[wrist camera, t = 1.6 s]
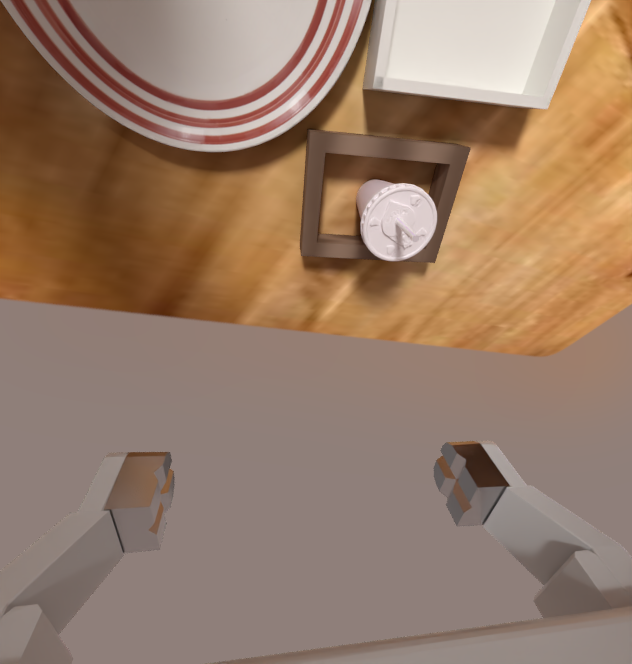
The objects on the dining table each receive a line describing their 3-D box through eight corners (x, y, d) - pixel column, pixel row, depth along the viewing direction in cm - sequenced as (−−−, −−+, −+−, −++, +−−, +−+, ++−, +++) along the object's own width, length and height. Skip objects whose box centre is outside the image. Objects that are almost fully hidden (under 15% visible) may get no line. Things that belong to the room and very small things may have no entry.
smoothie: (390, 151, 34) (448, 180, 22) (411, 209, 37) (470, 259, 26) (333, 185, 35) (360, 229, 23) (358, 238, 38) (393, 298, 27)
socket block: (299, 245, 38) (301, 255, 36) (307, 128, 32) (310, 131, 29) (425, 252, 40) (434, 262, 38) (456, 144, 34) (470, 147, 31)
